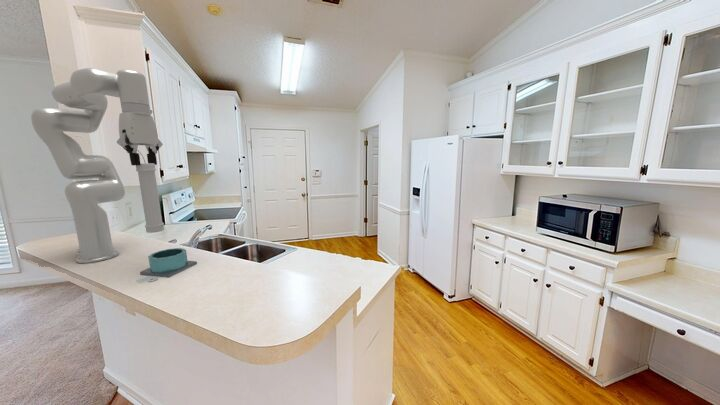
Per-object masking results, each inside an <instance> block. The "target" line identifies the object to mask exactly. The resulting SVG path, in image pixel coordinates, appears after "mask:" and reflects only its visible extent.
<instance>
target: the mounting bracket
mask: <svg viewBox="0 0 720 405" xmlns="http://www.w3.org/2000/svg"><path fill="white" fill-rule="evenodd" d="M160 278H162V277H158V276H149V275H146V276H144V277H142V278H140V279H139V278H138V279H137V280H135V283H138V284H143V283H146V282H147V283H154V282H156V281H158V279H160Z"/></svg>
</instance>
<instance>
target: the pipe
mask: <svg viewBox="0 0 720 405" xmlns="http://www.w3.org/2000/svg"><path fill="white" fill-rule="evenodd" d="M137 152H138V153H139V155H141V156H142V159H143V161H144V163H141V165H135V172H137V175H138V181H139V188H140V194H141V202H142V207H143V213H144V219H145V225H144V227H145V232H146V233H148V234H152V233H158V232H163V231H164V230H165V223H164V222H163V216H162V210H161V205H160V198H159V197H160V196H159V190H158V182H157V176H156V171H157V168H156V165H155V164H154V163H148V162H147V163H146V160H145V156H143V154H142V153H141V151H139V150H138V149H137Z"/></svg>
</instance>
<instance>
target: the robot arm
mask: <svg viewBox="0 0 720 405" xmlns="http://www.w3.org/2000/svg"><path fill="white" fill-rule="evenodd" d="M145 76H146V75H144V74H143V73H141V72H139V71H136V70H131V69H121V70H117V71H116V73H114V72H111V71H110V72H109V71H107V70H102V69H97V68H93V67H87V68H80V69H77V70H74V71H73V72H72V74H71V76H70V79H69V81H68V82H64V83H60V84H56V86H54V87H53V88H52V90H51V95H52V97H53V100H55V101H56V102H57V103H58V104H60V105H62V106H64V107H67V108H71V109H67V108H59V107H38V108H35V109H33V111H32V113H31V117H30V119H31V125H32V127H33V130H34V131H35V133H36V134H37V136H38V137H39V139H41V141H42V142H43V143H44V144H45V146H47V148H48V150H49V151H50V153H51V156H52V158H53V160H54V162H55V163H56V166H57V168H58V170H59V172H60V174H61V175H62V177H64V178H66V179H68V180H77V181H74V182H73V181H71V182H70V183H68V184H67V185H66V186H65V187H64V195H65V197H66V200H67V202H68V204H69V206H70V208H71V210H70V211H71V213H72V218H73V222H74V226H75V231H76V232H75V233H76V236H77V243H78V246H79V249H77V250H76V252H77V253H79V254H80V256H78V257H76V258H75V262H76V263H78V264H89V263H97V262H100V261H105V260H109V259H112V258H114V257H116V256H118V255H119V253H120V252H119V250H117V249H114V247H113V241H112V235H111V230H110V224H109V217H108V214H107V212H106V211H105V210H104V208H102V207H101V206H100V204H104V203H110V202H111V203H112V202H117V201H120V200H122V199H123V198H124V197H125V194H126V192H125V187H124V185H123V182H122V180H121V178H120V176H119V174H118V172H117V169H116V168H115V165H114V164H113V162H112V161H111V160H110V159H109V158H108V157H106V156H105V155H104V156H103V155H98V154H97V155H95V154H93V155H92V154H90V155H89V154H86V153H85V152H84V151H83V149H82V147H81V145H80V144H79V143H78V142H77V141H76V140H75V139H74V138H72V136H70V135H68V134H66V133H64V132H70V133H84V134H85V133H86V134H88V133H89V134H91V133H95V132H97V130H98V129H99V127H100V125H101V124H102V120H103V118H104V116H105V114H106V111H107V108H108V102H109V101H108V98H107V96H109V97H114V98H119V100H120V101H119V102H120V108H121V113H120V112H119V116H118V135H119V138H118V139H117V141H116V143H117V145H119V146H120V147H122V149H123V150H125V151H126V153H127V154H129V160H130V165H131V166H136V165H141V164H142V162H141V158H140V153H139V152H138V151H137V150H138V147H139V146H145V149H146V151H147V153H146V157H147V163H154V164H155V166H157V165H158V161H157V160H158V159H157V155H156V154H158V151H159V150H160V148H161V147H162V146H163V145H164V144H163V143H162V141H161V140H160V139H159V136H158V131H157V127H156V126H157V125H156V123H155V120H154V117H153V116H152V115H151V114H153V110H152V109H151V107H150V101H149V100H150V99H149V92H148V86H147V79H146V77H145ZM76 109H77V110H76ZM78 109H79V110H78ZM82 110H83V111H82Z"/></svg>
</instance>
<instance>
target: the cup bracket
mask: <svg viewBox="0 0 720 405" xmlns="http://www.w3.org/2000/svg"><path fill="white" fill-rule="evenodd" d="M148 264H149V268H146V269H143V270H141V271H139V274H140V276H158V277H161V278H171V277H172V276H173V277H174V276H175V275H177V274H178V273H182V272H183V271H185V270H187V269H189V268H192V267H195V265H198V261H197V260H188V254H187V249H186V248H180V247H178V248H177V247H176V248H167V249H162V250H158V251H156V252H152V253H150V255H148Z"/></svg>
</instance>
